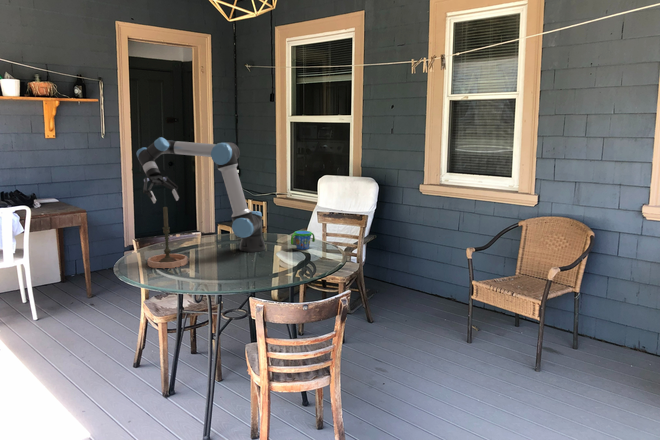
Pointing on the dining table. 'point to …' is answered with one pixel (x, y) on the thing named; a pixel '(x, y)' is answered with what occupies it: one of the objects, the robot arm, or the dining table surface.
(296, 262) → the dining table surface
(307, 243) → the snack cup
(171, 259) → the candlestick holder
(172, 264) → the saucer
